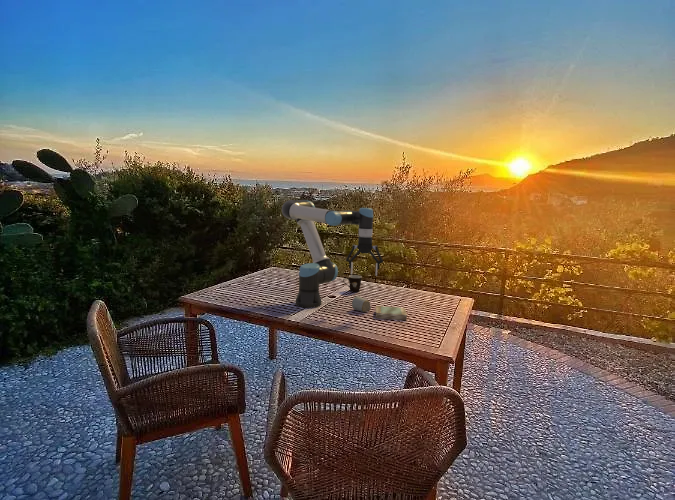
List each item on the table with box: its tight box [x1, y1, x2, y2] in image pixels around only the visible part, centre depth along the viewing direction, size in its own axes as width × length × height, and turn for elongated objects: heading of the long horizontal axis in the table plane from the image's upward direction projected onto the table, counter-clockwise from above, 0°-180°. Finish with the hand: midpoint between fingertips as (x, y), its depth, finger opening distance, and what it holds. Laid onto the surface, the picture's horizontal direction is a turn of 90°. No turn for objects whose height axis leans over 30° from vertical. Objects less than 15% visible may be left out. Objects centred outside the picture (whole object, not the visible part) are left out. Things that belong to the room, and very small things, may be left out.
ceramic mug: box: [351, 295, 372, 313], centre depth 211 cm, size 11×8×8 cm
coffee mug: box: [342, 274, 363, 293], centre depth 251 cm, size 12×9×10 cm
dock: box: [375, 305, 408, 321], centre depth 204 cm, size 16×12×3 cm
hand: (363, 274), depth 208 cm, fingers open, 13 cm apart
